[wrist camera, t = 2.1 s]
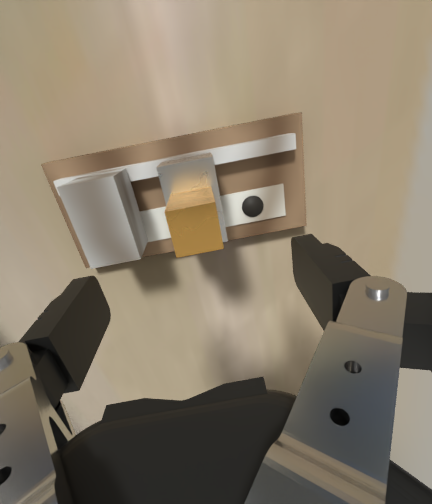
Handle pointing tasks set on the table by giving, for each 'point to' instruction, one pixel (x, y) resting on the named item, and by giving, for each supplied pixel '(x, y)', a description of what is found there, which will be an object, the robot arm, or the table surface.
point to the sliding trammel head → (192, 204)
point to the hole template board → (151, 195)
